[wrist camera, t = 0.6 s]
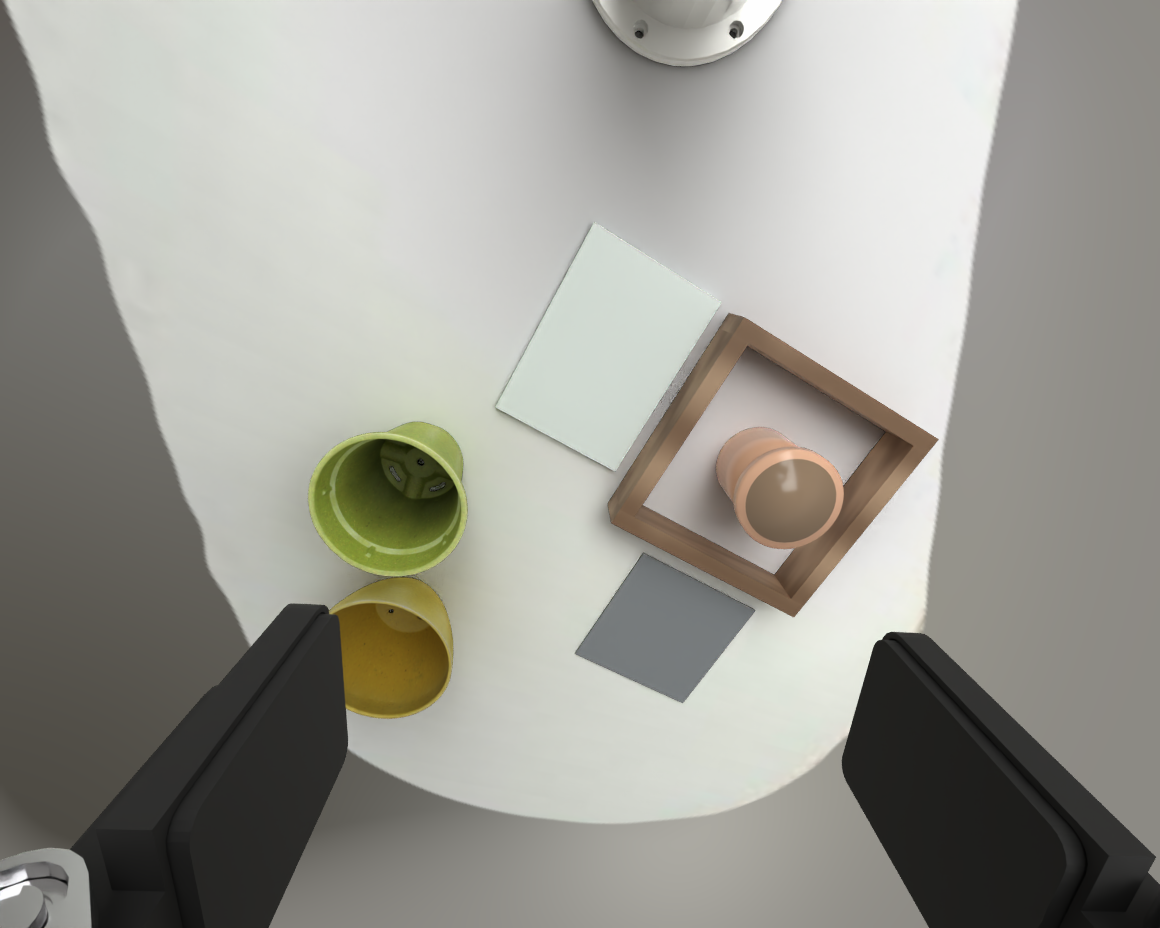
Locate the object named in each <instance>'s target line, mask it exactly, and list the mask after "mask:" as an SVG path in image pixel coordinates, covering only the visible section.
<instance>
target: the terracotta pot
mask: <svg viewBox="0 0 1160 928" xmlns="http://www.w3.org/2000/svg"><path fill="white" fill-rule="evenodd" d="M716 475H717V479H718V481H719V483H720V485H721V487H722V488H723V490H724V491H725V493H726V494H727V495H728V497H729V498H730V500H731V501H732V502H733V505H734V511H735V514H736V517H737V519H738V521H739V522H740V524H741V525H742V527H743V528H744V530H745V531H746V532H747V534H748V535H749V536H750V537H751V538H753V539H754V540H755V541H757V542H758V543H760V544H762V545H764V546H767V547H771V548H776V549H791V548H796V547H800V546H803V545H806V544H808V543H811V542H812V541H814V540H816V539H818V538H819V537H820V536H822V535H823V534H824V533H825V532H826V531H827V530H828V529H829V528H830V527H831V526H832V525H833V523H834V522H835V520H836V519H837V517H838V515H839V513H840V510H841V508H842V504H843V497H844V489H843V483H842V480H841V477H840V475H839V473H838V471H837V470H836V469H835V467H834V466H833V465H832V464H831V463H830V462H829V461H827V460H826V459H825V458H823V457H822V456H820V455H819V454H817V453H816V452H814V451H812V450H809V449H806V448H802V447H798V446H797V445H795V444H794V443H793V442H792V441H790V440H789V439H788V438H786V437H785V436H784V435H782V434H781V433H779V432H778V431H776V430H773V429H770V428H765V427H754V428H749V429H746V430H743V431H741V432H739V433H737V434H736V435H734V436H733V437H732V438H730V439H729V440H728V441H727V442H726V443H725V445H724V446H723V447H722V449H721V451H720V453H719V455H718V458H717V462H716Z"/></svg>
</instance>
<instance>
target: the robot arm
mask: <svg viewBox="0 0 1160 928" xmlns="http://www.w3.org/2000/svg"><path fill="white" fill-rule="evenodd" d="M592 1H593V3H594V4H595V6H596V8H597V10H598V11H599V13H600V15H601V17H602V18H603V20H604V22H605V23H606V24H607V25H608V27H609V28H610V29H611V30H612V31H613V32H614V34H615V35H616V36H617V37H618V38H619V39H620V40H621V41H622V42H623V43H625V44H626V45H627V46H629V47H630V48H631V49H632V50H634V51H635V52H636V53H638V54H640V55H642V56H644V57H646V58H649V59H651V60H653V61H655V62H659V63H663V64H668V65H672V66H696V65H701V64H705V63H710V62H714V61H716V60H718V59H720V58H723V57H725V56H727V55H729V54H731V53H733V52H735V51H736V50H737V49H739V48H740V47H742V46H743V45H744V44H746V43H747V42H748V41H750V40H751V39H752V38H753V37H754V36H755V35H756V34H757V33H758V32H759V31H760V30H761V29H762V28H763V26H764V25H765V24H766V23H767V22H768V21H769V19H770V18H771V17H772V15H773V14H774V13H775V11H776V10H777V9H778V8H779V6H780V5H781V3H782V1H783V0H592ZM638 30H639V31H641V32H642V33H643V37H642V38H637V37H636V36H635V32H636V31H638ZM730 31H734V32H735V34H736V38H735V39H734V38H732V37H731V36H730V35H729V32H730ZM347 747H348V733H347V719H346V705H345V691H344V677H343V664H342V650H341V636H340V623H339V618H338V616H337V615H336V614H329V610H328V608H327V606H325V605H312V604H288V605H287V606H286V607H285V608H284V609H283V610H282V611H281V612H280V614H279V615H278V616H277V617H276V618H275V619H274V621H273V622H272V623H271V624H270V625H269V626H268V628H267V629H266V630H265V631H264V632H263V633H262V635H261V636H260V637H259V638H258V639H257V640H256V642H255V643H254V644H253V645H252V646H251V647H250V649H249V650H248V651H247V652H246V653H245V654H244V656H243V657H242V658H241V659H240V660H239V662H238V663H237V664H236V665H235V666H234V667H233V668H232V670H231V671H230V672H229V673H228V675H226V677H225V678H224V679H223V680H222V681H221V682H220V684H219V685H217V686H214V687H212V688H211V689H210V690H209V691H208V692H207V693H206V694H205V695H204V696H203V697H202V698H201V699H200V701H199V702H198V703H197V704H196V705H195V706H194V707H193V709H192V710H191V711H190V712H189V713H188V714H187V715H186V717H185V718H184V719H183V720H182V721H181V723H179V725H178V726H177V727H176V728H175V729H174V730H173V731H172V733H171V734H170V735H169V736H168V737H167V738H166V740H165V741H164V742H163V743H162V744H161V746H159V748H158V749H157V750H156V751H155V752H154V753H153V755H152V756H151V757H150V758H149V759H148V760H147V762H146V763H145V764H144V765H143V766H142V767H141V768H140V770H139V771H138V772H137V773H136V774H135V775H134V776H133V777H132V779H131V780H130V781H129V782H128V783H127V784H126V786H125V787H124V788H123V789H122V790H121V791H120V792H119V794H118V795H117V796H116V797H115V798H114V799H113V801H112V802H111V803H110V804H109V805H108V806H107V808H106V809H105V810H104V811H103V812H102V813H101V814H100V815H99V817H98V818H97V819H96V820H95V821H94V822H93V824H92V825H91V826H90V827H89V828H88V829H87V831H86V832H85V833H84V834H83V835H82V836H81V837H80V838H79V840H78V841H77V842H76V843H75V844H74V845H73V846H72V848H71V849H70V850H67V849H57V848H45V849H39V850H33V851H27V852H23V853H20V854H18V855H15V856H12V857H9V858H6V859H3V860H1V861H0V928H269V925H270V923H271V921H272V919H273V917H274V914H275V912H276V910H277V908H278V906H279V903H280V901H281V899H282V897H283V895H284V893H285V890H286V888H287V886H288V884H289V882H290V880H291V877H292V875H293V873H294V871H295V868H296V866H297V864H298V862H299V860H300V857H301V855H302V853H303V851H304V849H305V846H306V844H307V842H308V840H309V838H310V836H311V834H312V831H313V829H314V827H315V825H316V822H317V820H318V818H319V816H320V814H321V812H322V809H323V807H324V805H325V803H326V801H327V799H328V796H329V794H330V792H331V790H332V788H333V785H334V783H335V781H336V779H337V777H338V774H339V772H340V770H341V768H342V765H343V763H344V760H345V757H346V752H347ZM842 769H843V774H844V777H845V779H846V782H847V784H848V785H849V787H850V789H851V791H852V792H853V794H854V796H855V798H856V799H857V801H858V803H859V805H860V806H861V808H862V810H863V812H864V814H865V815H866V817H867V819H868V821H869V822H870V824H871V826H872V828H873V829H874V831H875V833H876V835H877V836H878V838H879V840H880V842H881V843H882V845H883V847H884V849H885V851H886V852H887V854H888V856H889V858H890V859H891V861H892V863H893V865H894V866H895V868H896V870H897V871H898V874H899V875H900V877H901V879H902V880H903V882H904V884H905V886H906V887H907V889H908V891H909V893H910V894H911V896H912V898H913V900H914V902H915V904H916V905H917V907H918V909H919V911H920V912H921V914H922V916H923V918H924V919H925V921H926V923H927V925H928V926H929V928H1160V884H1159V883H1158V882H1157V881H1156V880H1155V879H1154V878H1153V877H1152V876H1151V875H1150V874H1149V873H1148V871H1149V869H1150V867H1151V865H1152V864H1153V862H1154V860H1155V858H1156V856H1154V855H1153V854H1152V853H1151V852H1150V851H1149V850H1148V849H1147V848H1146V847H1145V846H1144V845H1143V844H1142V843H1141V842H1140V841H1139V840H1138V839H1137V838H1136V837H1135V836H1134V835H1133V834H1132V833H1131V832H1130V831H1129V830H1128V829H1127V828H1126V827H1124V825H1123V824H1121V823H1120V822H1119V821H1118V820H1117V819H1116V818H1115V817H1114V816H1113V815H1112V814H1111V813H1110V812H1109V811H1108V810H1107V809H1106V808H1105V807H1104V806H1103V805H1102V804H1101V803H1100V802H1099V801H1098V800H1097V799H1095V797H1093V795H1092V794H1091V793H1089V791H1087V790H1086V789H1085V788H1084V787H1083V786H1082V785H1081V784H1080V783H1079V782H1078V781H1077V780H1076V779H1075V778H1074V777H1073V776H1072V775H1071V774H1070V773H1069V772H1068V771H1067V770H1066V769H1065V768H1064V767H1063V766H1062V765H1061V764H1060V763H1059V762H1058V761H1057V760H1056V759H1054V758H1053V757H1052V756H1051V755H1050V754H1049V753H1048V752H1047V751H1046V750H1045V749H1044V748H1043V747H1042V746H1041V745H1040V744H1039V743H1038V742H1037V741H1036V740H1035V739H1034V738H1032V736H1031V735H1030V734H1029V733H1028V732H1027V731H1025V729H1024V728H1023V727H1021V726H1020V725H1019V724H1018V723H1017V722H1016V721H1015V720H1014V719H1013V718H1012V717H1011V716H1010V715H1009V714H1008V713H1007V712H1006V711H1005V710H1004V709H1003V708H1002V707H1001V706H1000V705H999V704H998V703H997V702H996V701H994V699H992V697H991V696H990V695H988V694H987V693H986V692H985V691H984V690H983V689H982V688H981V687H980V686H979V685H978V684H977V683H976V682H975V681H974V680H973V679H972V678H971V677H970V676H969V675H968V674H967V673H966V672H965V671H964V670H963V669H961V667H960V666H959V665H958V664H957V663H956V662H954V661H953V660H952V659H951V658H950V657H949V656H948V655H947V654H946V653H945V652H944V651H943V650H942V649H941V648H940V647H939V646H938V645H937V644H936V643H935V642H934V641H933V640H932V639H931V638H929V637H928V636H927V635H925V634H921V633H903V632H890V633H887V634H886V635H885V636H884V637H883V639H882V640H879V641H877V642H876V643H875V645H874V647H873V651H872V654H871V658H870V661H869V665H868V668H867V672H866V675H865V679H864V682H863V686H862V689H861V693H860V696H859V700H858V703H857V707H856V710H855V714H854V717H853V721H852V725H851V728H850V732H849V735H848V739H847V742H846V746H845V749H844V753H843V756H842Z"/></svg>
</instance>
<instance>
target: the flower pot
mask: <svg viewBox="0 0 1160 928" xmlns="http://www.w3.org/2000/svg"><path fill="white" fill-rule="evenodd" d="M390 609H393V610H394V612H393V613H391V612H389V610H390ZM329 614H336V615H337V616H338V618H339V623H340V636H341V650H342V664H343V677H344V691H345V705H346V709H348V710H350V711H352V712H355V713H357V714H361V715H364V716H369V717H373V718H383V719H392V718H401V717H406V716H410V715H413V714H416V713H418V712H421V711H423V710H424V709H426V708H428V707H429V706H431V705H432V704H433V703H435V702H436V701H437V700H438V699H439V698H440V696H441V695H442V694H443V692H444V691H445V689H446V688H447V686H448V683H449V681H450V678H451V672H452V665H453V638H452V631H451V625H450V621H449V618H448V615H447V612H446V609H445V607H444V605H443V603H442V601H441V600H440V598H439V597H438V595H437V594H436V593H435V592H434V590H433V589H432V588H431V587H429V586H428V585H427V584H425V583H424V582H422V581H420V580H417V579H414V578H408V577H398V578H389V579H385V580H381V581H378V582H375V583H372V584H370V585H368V586H365V587H363V588H361V589H359V590H357V591H356V592H354V593H352V594H351V595H349V596H347V597H346V598H345V599H343V600H342V601H340V602H339V603H338V604H337V605H335V606H334V607H333V608H332V609H331V610H329Z"/></svg>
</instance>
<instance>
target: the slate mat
mask: <svg viewBox="0 0 1160 928" xmlns="http://www.w3.org/2000/svg"><path fill="white" fill-rule="evenodd" d="M754 612H755V610H754V609H752V608H751V607H749V606H747V605H745V604H743V603H741V602H739V601H737V600H735V599H733V598H731V597H729V596H727V595H725V594H723V593H721V592H719V591H717V590H715V589H713V588H711V587H709V586H707V585H705V584H703V583H702V582H700V581H698V580H696V579H694V578H692V577H690V576H688V575H686V574H684V573H682V572H680V571H678V570H676V569H674V568H672V567H670V566H668V565H666V564H664V563H662V562H660V561H658V560H656V559H655V558H653V557H651V556H649V555H647V554H645V553H643V554H642V556H641V557H640V559H639V560H638V561H637V563H636V564H635V566H634V567H633V569H632V570H631V572H630V573H629V575H628V576H627V578H626V579H625V581H624V582H623V584H622V585H621V586H620V588H619V589H618V591H617V592H616V594H615V595H614V597H613V598H612V600H611V601H610V603H609V604H608V606H607V607H606V608H605V610H604V611H603V613H602V614H601V616H600V617H599V619H598V620H597V622H596V623H595V625H594V626H593V628H592V629H591V631H590V632H589V633H588V635H587V636H586V638H585V639H584V641H583V642H582V644H581V645H580V647H579V648H578V650H577V651H576V655H579V656H581V657H583V658H585V659H587V660H590V661H592V662H594V663H596V664H598V665H601V666H603V667H605V668H607V669H609V670H611V671H614V672H616V673H618V674H620V675H622V676H625V677H627V678H629V679H631V680H633V681H635V682H638V683H640V684H642V685H644V686H646V687H649V688H651V689H653V690H655V691H657V692H660V693H662V694H664V695H666V696H668V697H670V698H673V699H675V700H677V701H679V702H681V703H683V702H684V701H685V700H686V699H687V697H688V696H689V695H690V693H691V692H692V691H693V690H694V688H695V687H696V686H697V685H698V683H699V682H700V681H701V679H702V678H703V677H704V676H705V674H706V673H707V672H708V670H709V669H710V668H711V667H712V665H713V664H714V663H715V662H716V660H717V659H718V658H719V656H720V655H721V654H722V653H723V651H724V650H725V649H726V648H727V646H728V645H729V644H730V642H731V641H732V640H733V639H734V637H735V636H736V635H737V633H738V632H739V631H740V630H741V628H742V627H743V626H744V625H745V623H746V622H747V621H748V619H749V618H750V617H751V616H752V614H753V613H754Z"/></svg>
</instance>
